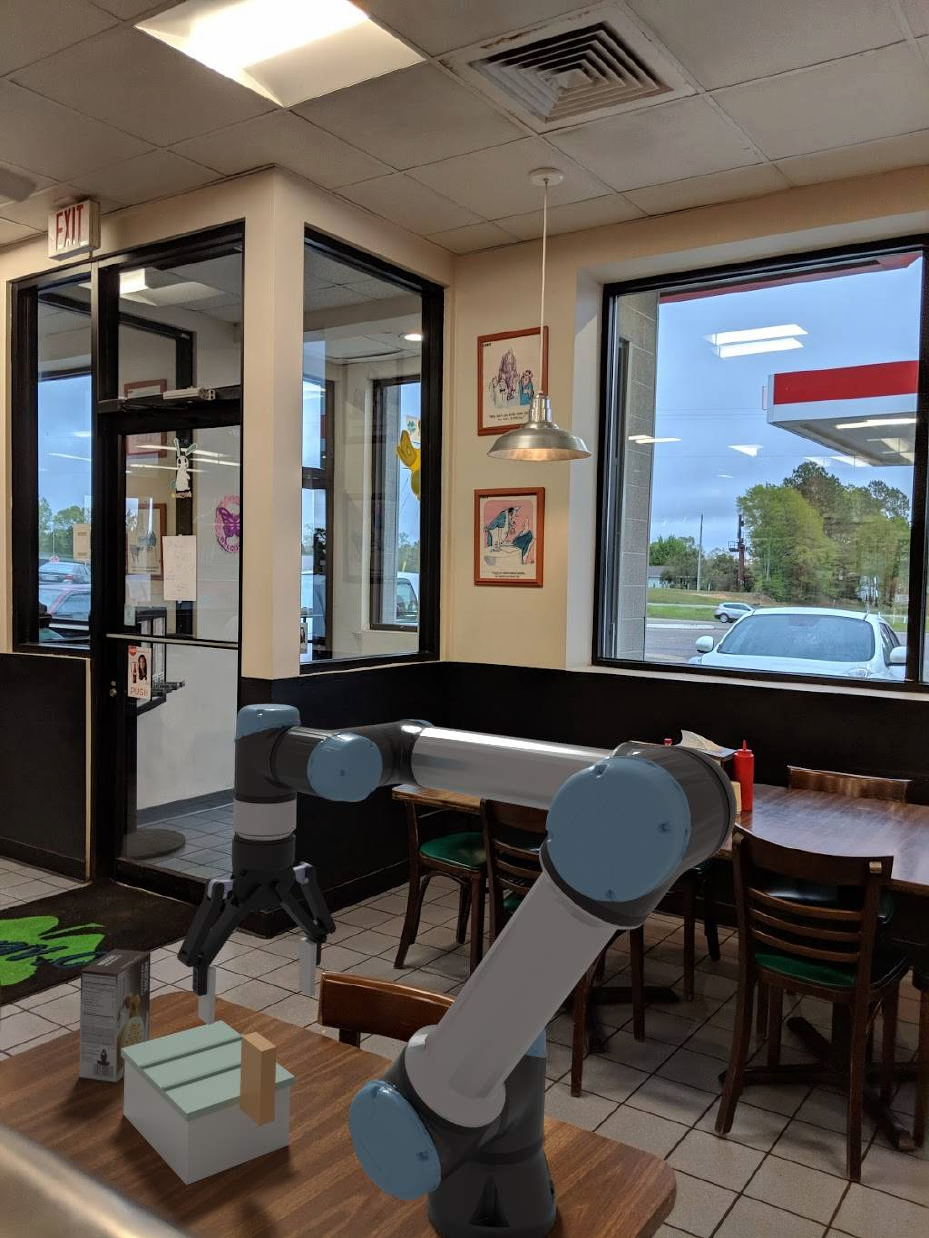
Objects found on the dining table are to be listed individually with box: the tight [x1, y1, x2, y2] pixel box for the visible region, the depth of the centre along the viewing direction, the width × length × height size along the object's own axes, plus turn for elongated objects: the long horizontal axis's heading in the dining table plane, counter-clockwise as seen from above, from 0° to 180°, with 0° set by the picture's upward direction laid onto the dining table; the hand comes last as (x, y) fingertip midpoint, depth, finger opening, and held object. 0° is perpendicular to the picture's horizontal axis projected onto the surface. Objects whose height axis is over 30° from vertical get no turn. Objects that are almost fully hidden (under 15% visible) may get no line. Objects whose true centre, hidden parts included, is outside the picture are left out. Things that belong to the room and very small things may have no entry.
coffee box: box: [78, 948, 152, 1083], centre depth 143 cm, size 9×6×16 cm
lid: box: [121, 1020, 296, 1126], centre depth 125 cm, size 27×15×10 cm, turn 41°
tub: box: [123, 1060, 291, 1186], centre depth 127 cm, size 20×14×8 cm
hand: (258, 1005), depth 116 cm, fingers open, 13 cm apart
